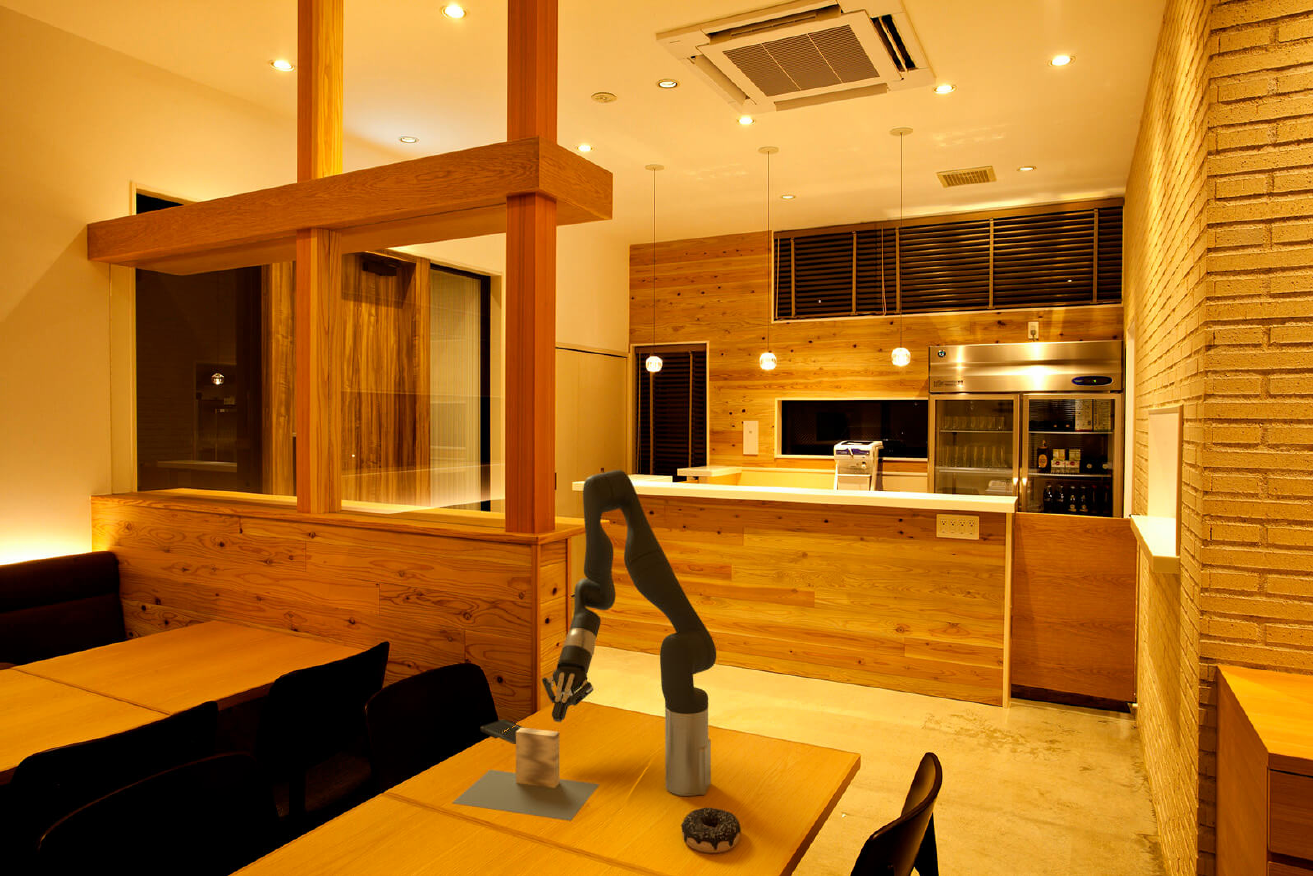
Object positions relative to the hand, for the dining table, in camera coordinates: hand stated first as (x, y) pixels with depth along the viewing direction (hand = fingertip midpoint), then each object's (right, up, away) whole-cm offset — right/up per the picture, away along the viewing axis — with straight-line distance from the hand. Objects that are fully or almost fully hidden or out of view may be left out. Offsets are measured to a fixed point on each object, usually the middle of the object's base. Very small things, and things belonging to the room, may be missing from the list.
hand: (556, 720), depth 177 cm
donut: (+33, -11, -32) cm, 47 cm away
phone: (-14, -11, +19) cm, 26 cm away
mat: (-4, -10, -15) cm, 18 cm away
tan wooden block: (-3, -10, -10) cm, 14 cm away
